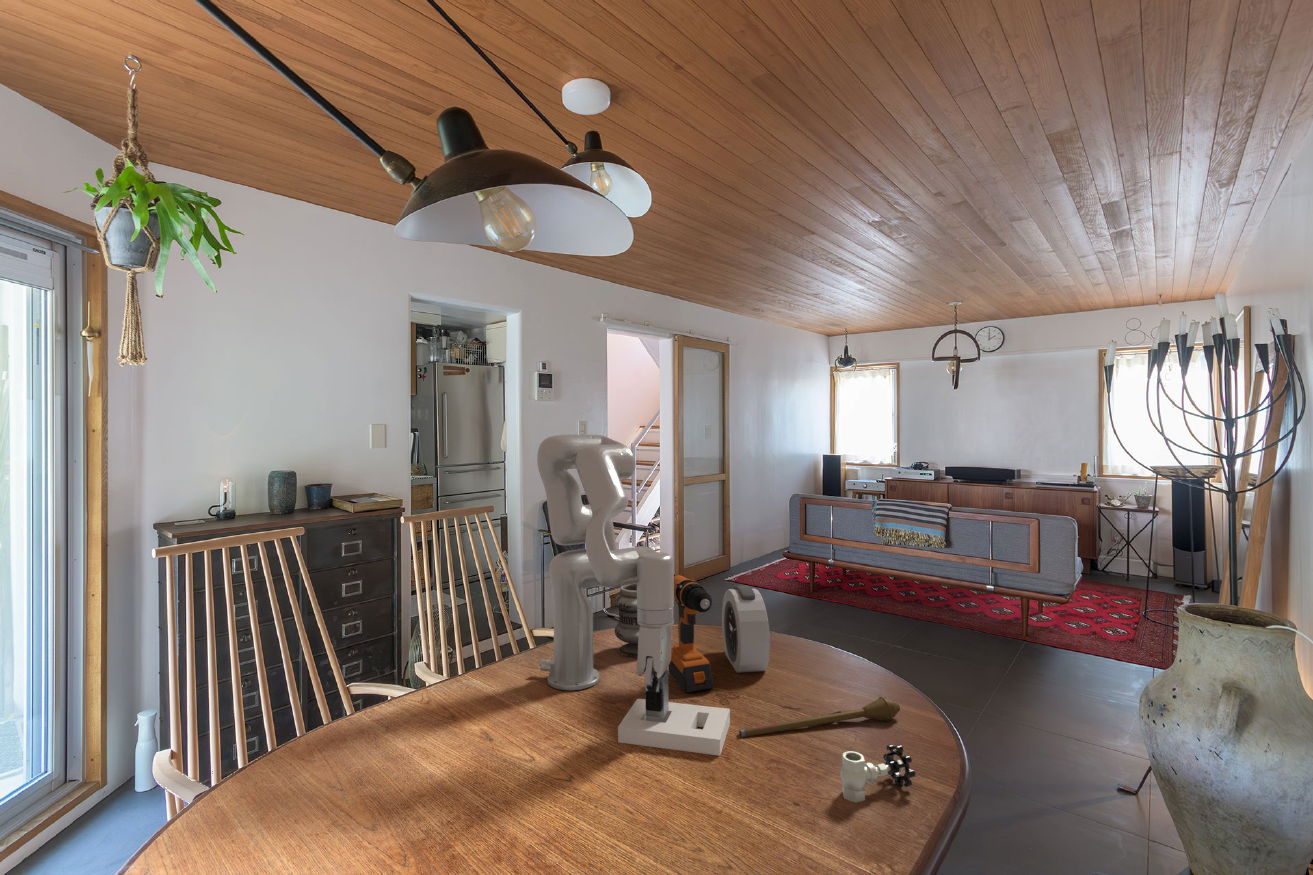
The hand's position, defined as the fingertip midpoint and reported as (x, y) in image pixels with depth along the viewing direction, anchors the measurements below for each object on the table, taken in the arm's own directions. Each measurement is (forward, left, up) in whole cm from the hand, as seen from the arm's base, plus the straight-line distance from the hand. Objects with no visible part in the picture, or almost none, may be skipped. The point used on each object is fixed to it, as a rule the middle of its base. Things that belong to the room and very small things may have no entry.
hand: (656, 704), depth 122 cm
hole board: (+4, 0, -5) cm, 6 cm away
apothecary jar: (-17, +42, -5) cm, 46 cm away
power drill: (+3, +23, -5) cm, 24 cm away
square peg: (0, 0, -2) cm, 2 cm away
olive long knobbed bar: (+32, +10, -6) cm, 34 cm away
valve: (+40, -11, -6) cm, 42 cm away
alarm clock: (+13, +41, -5) cm, 43 cm away
